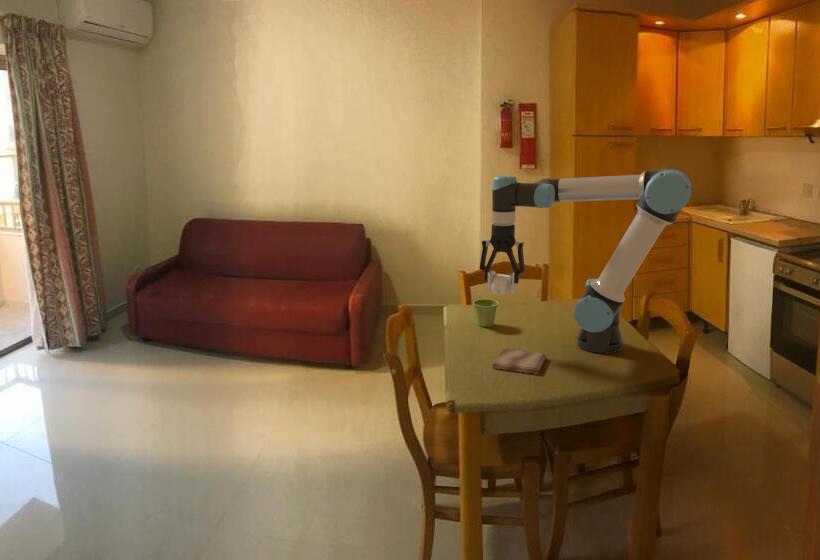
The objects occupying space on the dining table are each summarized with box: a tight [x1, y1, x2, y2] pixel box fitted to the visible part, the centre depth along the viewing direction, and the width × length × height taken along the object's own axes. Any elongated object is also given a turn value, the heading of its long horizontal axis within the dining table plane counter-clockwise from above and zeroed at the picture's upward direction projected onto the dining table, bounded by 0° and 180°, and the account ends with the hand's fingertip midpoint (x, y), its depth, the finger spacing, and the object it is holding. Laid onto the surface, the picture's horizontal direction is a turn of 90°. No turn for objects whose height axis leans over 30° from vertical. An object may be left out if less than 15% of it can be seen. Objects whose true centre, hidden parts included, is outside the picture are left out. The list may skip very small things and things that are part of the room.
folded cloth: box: [492, 348, 547, 374], centre depth 199 cm, size 14×14×2 cm
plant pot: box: [472, 298, 500, 328], centre depth 235 cm, size 9×9×9 cm
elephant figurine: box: [489, 270, 513, 296], centre depth 210 cm, size 8×10×7 cm
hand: (501, 291), depth 211 cm, fingers closed on elephant figurine, 7 cm apart
